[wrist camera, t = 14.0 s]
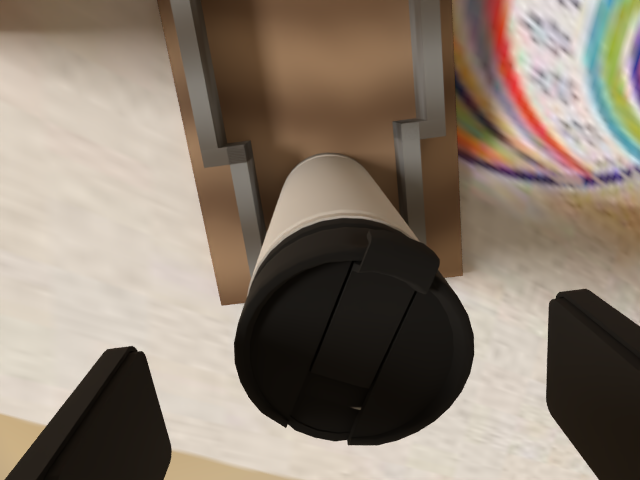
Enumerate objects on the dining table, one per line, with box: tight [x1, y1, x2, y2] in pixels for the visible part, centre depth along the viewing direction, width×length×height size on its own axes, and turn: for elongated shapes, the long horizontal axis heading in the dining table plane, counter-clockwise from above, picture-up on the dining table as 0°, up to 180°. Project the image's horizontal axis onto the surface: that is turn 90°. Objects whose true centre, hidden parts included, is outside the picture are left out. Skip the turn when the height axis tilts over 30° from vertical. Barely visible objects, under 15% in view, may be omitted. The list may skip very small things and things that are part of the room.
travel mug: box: [234, 153, 474, 445], centre depth 21 cm, size 6×7×20 cm
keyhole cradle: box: [157, 0, 463, 305], centre depth 28 cm, size 25×17×4 cm
